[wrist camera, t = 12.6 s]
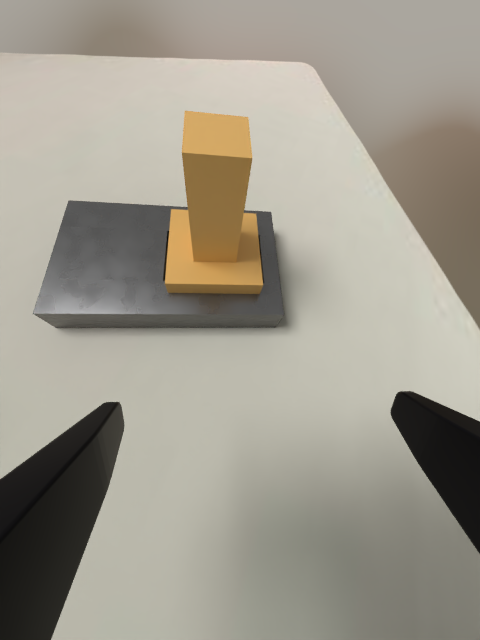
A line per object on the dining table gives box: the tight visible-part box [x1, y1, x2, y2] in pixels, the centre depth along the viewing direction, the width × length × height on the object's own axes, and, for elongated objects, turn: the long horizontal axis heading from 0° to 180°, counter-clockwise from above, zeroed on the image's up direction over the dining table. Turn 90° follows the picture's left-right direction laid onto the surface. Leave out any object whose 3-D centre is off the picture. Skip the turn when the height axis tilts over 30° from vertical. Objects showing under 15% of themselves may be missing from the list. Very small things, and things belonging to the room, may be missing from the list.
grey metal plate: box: [33, 201, 284, 328], centre depth 24 cm, size 12×20×3 cm, turn 92°
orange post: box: [165, 111, 263, 294], centre depth 19 cm, size 8×8×13 cm
